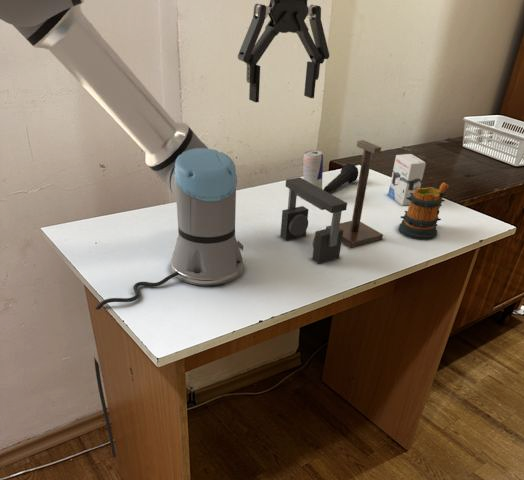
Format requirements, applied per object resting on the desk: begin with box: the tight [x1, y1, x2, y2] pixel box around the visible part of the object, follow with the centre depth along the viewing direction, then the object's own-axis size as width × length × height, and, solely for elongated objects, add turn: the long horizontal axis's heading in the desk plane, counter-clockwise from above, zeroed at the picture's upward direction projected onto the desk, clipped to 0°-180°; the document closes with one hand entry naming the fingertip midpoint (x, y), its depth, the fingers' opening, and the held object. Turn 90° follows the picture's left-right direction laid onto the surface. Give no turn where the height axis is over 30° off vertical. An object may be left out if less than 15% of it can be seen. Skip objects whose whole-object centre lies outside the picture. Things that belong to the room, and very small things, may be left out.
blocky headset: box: [279, 176, 348, 264], centre depth 116 cm, size 6×17×14 cm, turn 32°
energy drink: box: [302, 149, 324, 190], centre depth 142 cm, size 5×5×12 cm
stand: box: [325, 139, 384, 248], centre depth 120 cm, size 10×10×22 cm
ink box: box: [387, 153, 427, 206], centre depth 144 cm, size 8×5×12 cm, turn 17°
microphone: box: [322, 163, 359, 194], centre depth 151 cm, size 6×6×20 cm
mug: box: [397, 182, 450, 241], centre depth 128 cm, size 13×10×12 cm
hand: (282, 99), depth 107 cm, fingers open, 13 cm apart
